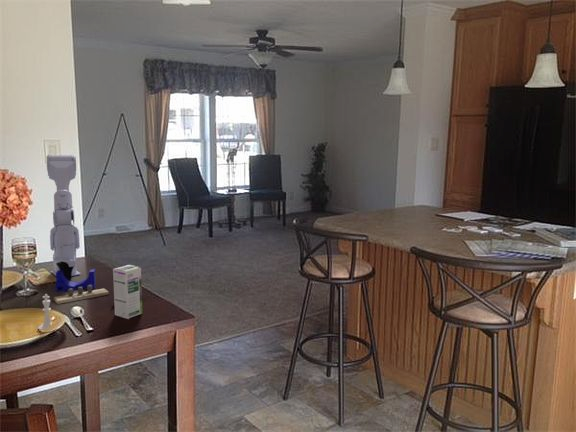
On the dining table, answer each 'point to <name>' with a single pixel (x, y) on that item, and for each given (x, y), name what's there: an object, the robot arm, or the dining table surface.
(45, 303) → the chess piece
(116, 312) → the syrup box
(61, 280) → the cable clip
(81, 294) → the coat hook rack
